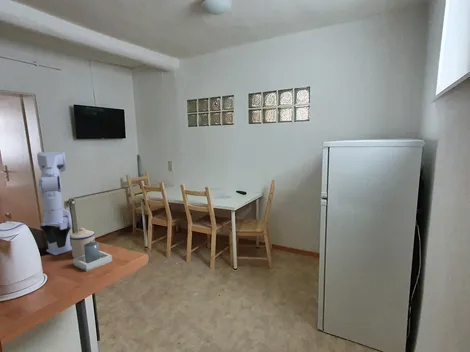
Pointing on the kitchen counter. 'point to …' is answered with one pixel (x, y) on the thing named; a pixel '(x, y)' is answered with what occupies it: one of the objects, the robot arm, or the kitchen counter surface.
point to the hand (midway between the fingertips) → (56, 244)
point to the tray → (103, 260)
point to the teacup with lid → (81, 241)
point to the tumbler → (91, 252)
